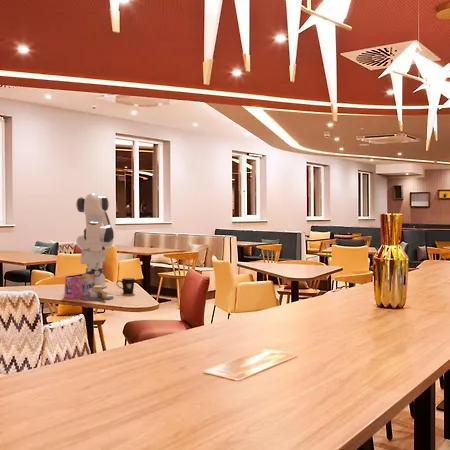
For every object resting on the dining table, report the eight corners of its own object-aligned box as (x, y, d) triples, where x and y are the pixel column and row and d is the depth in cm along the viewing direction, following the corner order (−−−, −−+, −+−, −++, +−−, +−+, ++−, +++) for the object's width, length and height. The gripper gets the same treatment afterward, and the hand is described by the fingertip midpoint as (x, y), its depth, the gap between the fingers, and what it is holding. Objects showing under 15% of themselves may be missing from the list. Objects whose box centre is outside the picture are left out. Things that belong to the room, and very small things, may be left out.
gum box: (72, 298, 358) (72, 277, 358) (62, 297, 361) (62, 276, 361) (95, 293, 380) (95, 273, 380) (85, 292, 383) (85, 273, 383)
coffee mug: (136, 292, 388) (136, 277, 387) (132, 294, 379) (132, 279, 379) (119, 292, 389) (119, 277, 389) (115, 293, 380) (115, 279, 380)
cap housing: (77, 297, 364) (77, 285, 364) (108, 294, 375) (108, 283, 374) (86, 301, 347) (86, 289, 347) (118, 299, 357) (118, 287, 357)
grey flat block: (86, 295, 362) (86, 288, 362) (103, 294, 368) (103, 287, 368) (96, 299, 346) (96, 292, 345) (113, 298, 351) (113, 291, 351)
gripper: (86, 249, 336) (86, 272, 337) (107, 247, 355) (107, 269, 355) (77, 248, 339) (77, 271, 339) (99, 246, 357) (99, 268, 358)
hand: (93, 270), depth 347 cm, fingers open, 5 cm apart
